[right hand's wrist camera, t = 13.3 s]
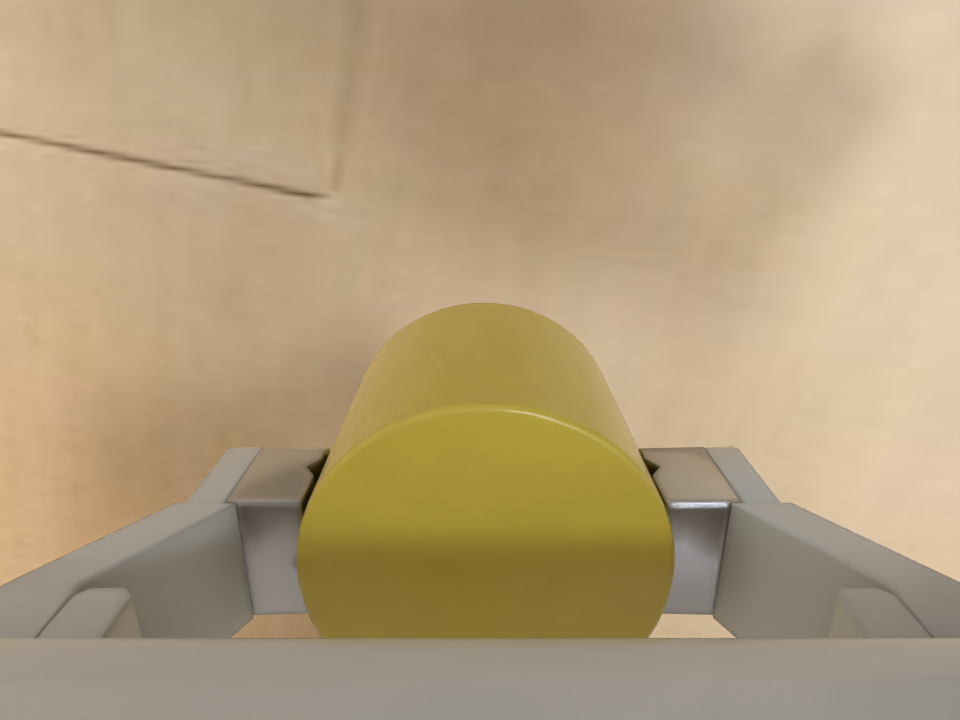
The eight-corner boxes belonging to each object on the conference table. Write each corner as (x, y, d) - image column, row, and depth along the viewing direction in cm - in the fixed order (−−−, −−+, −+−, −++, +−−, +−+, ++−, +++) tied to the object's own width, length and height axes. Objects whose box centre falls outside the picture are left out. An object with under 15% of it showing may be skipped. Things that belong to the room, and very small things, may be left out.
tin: (594, 279, 11) (660, 372, 7) (623, 511, 12) (689, 691, 9) (325, 327, 11) (243, 442, 7) (388, 547, 13) (349, 738, 9)
